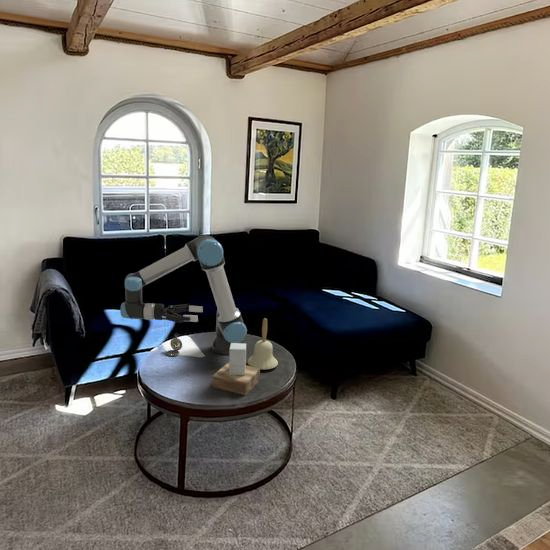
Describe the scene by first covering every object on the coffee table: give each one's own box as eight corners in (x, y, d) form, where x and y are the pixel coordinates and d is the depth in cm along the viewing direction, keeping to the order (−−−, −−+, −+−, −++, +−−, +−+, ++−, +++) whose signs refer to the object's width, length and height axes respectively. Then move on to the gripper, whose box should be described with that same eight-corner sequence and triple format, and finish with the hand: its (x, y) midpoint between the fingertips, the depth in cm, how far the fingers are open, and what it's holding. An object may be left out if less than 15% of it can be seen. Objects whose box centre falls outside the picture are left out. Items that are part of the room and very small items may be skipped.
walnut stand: (228, 373, 236) (229, 361, 234) (259, 380, 230) (260, 368, 229) (212, 387, 221) (213, 375, 220) (245, 395, 216) (246, 382, 214)
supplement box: (245, 368, 228) (246, 343, 225) (244, 375, 221) (246, 349, 218) (229, 367, 228) (230, 342, 225) (228, 375, 220) (229, 348, 217)
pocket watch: (166, 357, 249) (166, 338, 247) (165, 350, 257) (165, 332, 255) (182, 356, 252) (183, 338, 249) (181, 349, 259) (181, 332, 257)
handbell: (264, 375, 236) (267, 326, 230) (240, 365, 245) (243, 318, 239) (283, 365, 248) (287, 318, 242) (260, 356, 257) (262, 311, 251)
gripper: (161, 310, 243) (204, 312, 243) (147, 328, 219) (195, 330, 219) (161, 296, 242) (204, 298, 241) (147, 312, 217) (195, 314, 217)
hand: (200, 313), depth 230 cm, fingers open, 13 cm apart
